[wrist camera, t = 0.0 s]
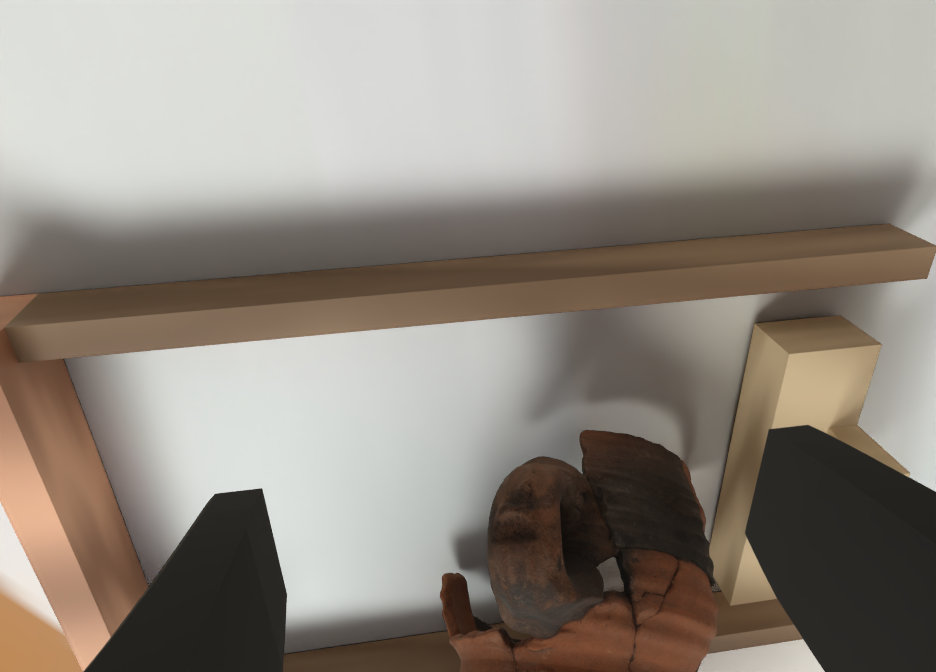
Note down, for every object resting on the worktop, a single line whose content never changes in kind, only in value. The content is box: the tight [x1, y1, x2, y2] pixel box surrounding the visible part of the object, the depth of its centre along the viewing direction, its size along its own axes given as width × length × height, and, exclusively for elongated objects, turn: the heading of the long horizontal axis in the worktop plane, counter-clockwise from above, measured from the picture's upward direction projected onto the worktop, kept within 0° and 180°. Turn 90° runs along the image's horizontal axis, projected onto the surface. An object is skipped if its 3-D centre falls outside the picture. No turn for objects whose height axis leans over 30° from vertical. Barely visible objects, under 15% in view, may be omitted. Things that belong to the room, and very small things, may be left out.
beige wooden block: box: [709, 315, 910, 606], centre depth 22 cm, size 11×3×4 cm, turn 2°
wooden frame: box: [0, 224, 936, 672], centre depth 20 cm, size 18×27×8 cm, turn 92°
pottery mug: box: [440, 430, 719, 672], centre depth 22 cm, size 12×9×8 cm
